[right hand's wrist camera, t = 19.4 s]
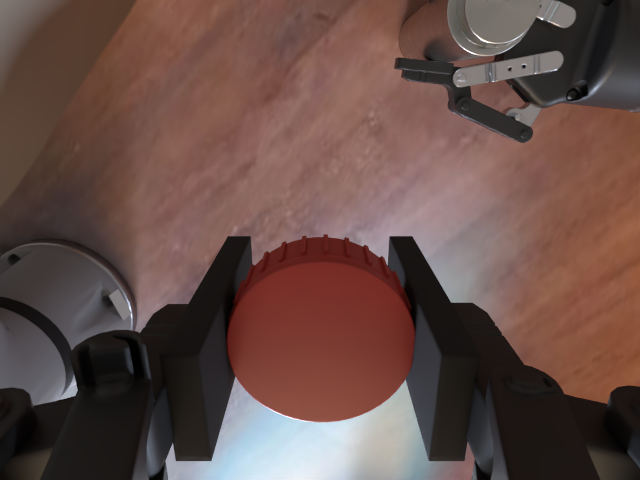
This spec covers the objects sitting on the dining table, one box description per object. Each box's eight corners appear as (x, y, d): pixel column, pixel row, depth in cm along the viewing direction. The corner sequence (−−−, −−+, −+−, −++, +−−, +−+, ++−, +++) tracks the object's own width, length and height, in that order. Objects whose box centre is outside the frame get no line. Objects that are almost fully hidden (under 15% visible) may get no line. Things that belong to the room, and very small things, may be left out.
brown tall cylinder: (459, 40, 35) (571, 6, 19) (419, 76, 36) (490, 75, 20) (428, -2, 34) (518, -79, 18) (388, 36, 35) (435, -1, 19)
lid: (210, 346, 12) (194, 385, 11) (277, 203, 11) (271, 223, 9) (356, 404, 13) (361, 448, 12) (439, 277, 12) (457, 308, 10)
